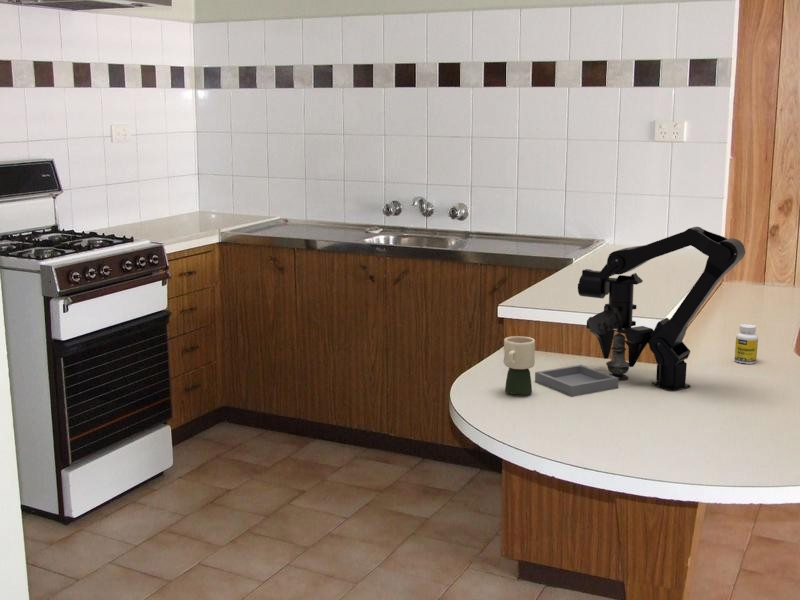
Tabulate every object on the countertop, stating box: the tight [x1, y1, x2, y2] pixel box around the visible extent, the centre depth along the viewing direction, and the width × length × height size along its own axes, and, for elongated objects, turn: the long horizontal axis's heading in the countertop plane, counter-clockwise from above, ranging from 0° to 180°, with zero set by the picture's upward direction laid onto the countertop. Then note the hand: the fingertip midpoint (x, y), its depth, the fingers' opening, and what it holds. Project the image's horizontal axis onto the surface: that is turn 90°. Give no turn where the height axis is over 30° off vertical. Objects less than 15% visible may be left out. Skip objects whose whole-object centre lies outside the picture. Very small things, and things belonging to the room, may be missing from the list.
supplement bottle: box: [734, 323, 759, 365], centre depth 243 cm, size 5×5×10 cm
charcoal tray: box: [534, 364, 619, 398], centre depth 224 cm, size 14×14×2 cm
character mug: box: [503, 335, 536, 396], centre depth 216 cm, size 11×7×13 cm, turn 149°
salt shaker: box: [605, 332, 630, 382], centre depth 229 cm, size 6×6×12 cm
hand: (618, 362), depth 229 cm, fingers open, 9 cm apart
